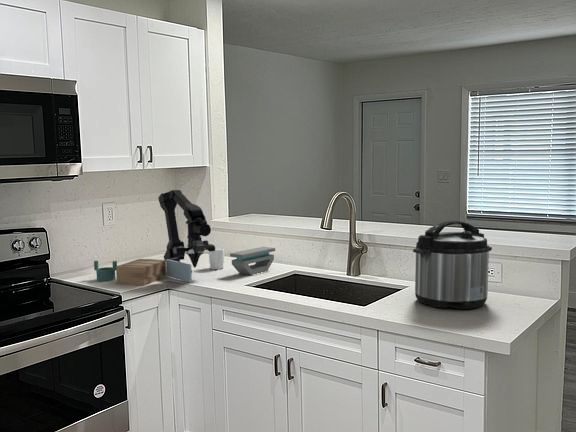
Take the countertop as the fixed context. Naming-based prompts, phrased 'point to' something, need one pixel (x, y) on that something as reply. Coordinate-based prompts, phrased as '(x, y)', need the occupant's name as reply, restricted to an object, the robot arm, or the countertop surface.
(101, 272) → the bracket
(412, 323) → the countertop surface
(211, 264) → the white cup
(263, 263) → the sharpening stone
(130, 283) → the walnut cabinet
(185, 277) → the cabinet door
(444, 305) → the pressure cooker
